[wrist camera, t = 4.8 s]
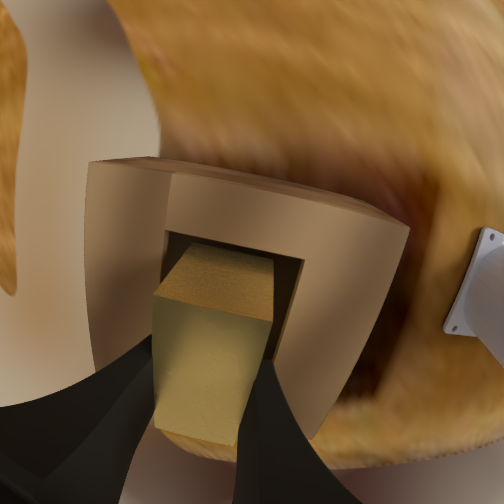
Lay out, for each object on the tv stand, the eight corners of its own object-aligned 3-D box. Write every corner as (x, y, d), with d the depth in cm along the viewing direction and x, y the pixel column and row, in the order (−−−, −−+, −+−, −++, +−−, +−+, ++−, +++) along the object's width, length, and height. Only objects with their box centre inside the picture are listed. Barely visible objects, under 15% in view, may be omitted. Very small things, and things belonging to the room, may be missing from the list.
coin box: (363, 200, 15) (410, 227, 9) (304, 371, 19) (312, 439, 13) (149, 156, 15) (88, 162, 9) (136, 334, 19) (99, 391, 13)
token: (273, 259, 11) (272, 321, 7) (243, 376, 13) (233, 446, 9) (193, 242, 11) (153, 294, 7) (180, 362, 13) (155, 427, 9)
